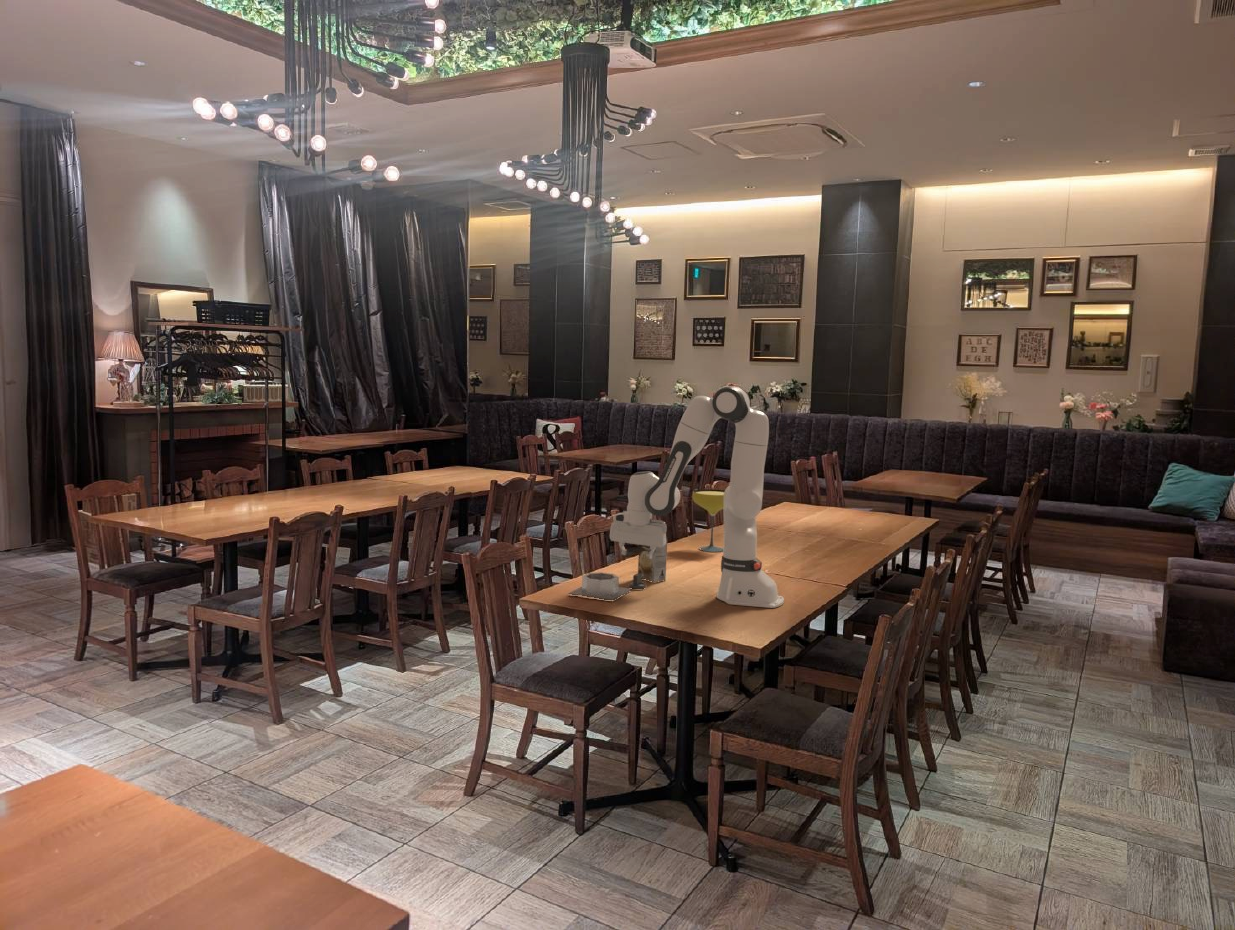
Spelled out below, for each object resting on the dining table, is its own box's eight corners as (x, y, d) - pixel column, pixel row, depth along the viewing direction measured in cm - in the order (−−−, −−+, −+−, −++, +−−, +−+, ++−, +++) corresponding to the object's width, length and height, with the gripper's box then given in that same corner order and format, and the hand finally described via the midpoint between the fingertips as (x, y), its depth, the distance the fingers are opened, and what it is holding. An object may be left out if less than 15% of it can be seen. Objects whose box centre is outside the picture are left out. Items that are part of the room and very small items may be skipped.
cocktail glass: (682, 546, 381) (684, 489, 378) (718, 544, 388) (720, 488, 386) (703, 555, 364) (706, 495, 362) (740, 552, 372) (743, 494, 369)
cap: (648, 587, 308) (648, 573, 307) (642, 591, 302) (642, 577, 302) (632, 585, 310) (633, 571, 310) (626, 589, 305) (626, 575, 304)
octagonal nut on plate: (630, 591, 301) (631, 574, 300) (612, 602, 286) (612, 584, 285) (588, 585, 307) (589, 569, 306) (568, 596, 292) (568, 578, 292)
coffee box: (636, 578, 320) (638, 535, 319) (649, 576, 324) (650, 533, 323) (653, 583, 313) (655, 539, 312) (666, 581, 318) (668, 537, 316)
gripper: (670, 519, 302) (667, 559, 304) (616, 512, 310) (613, 551, 312) (664, 522, 297) (661, 562, 298) (608, 515, 305) (606, 554, 306)
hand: (636, 556), depth 305 cm, fingers open, 8 cm apart
